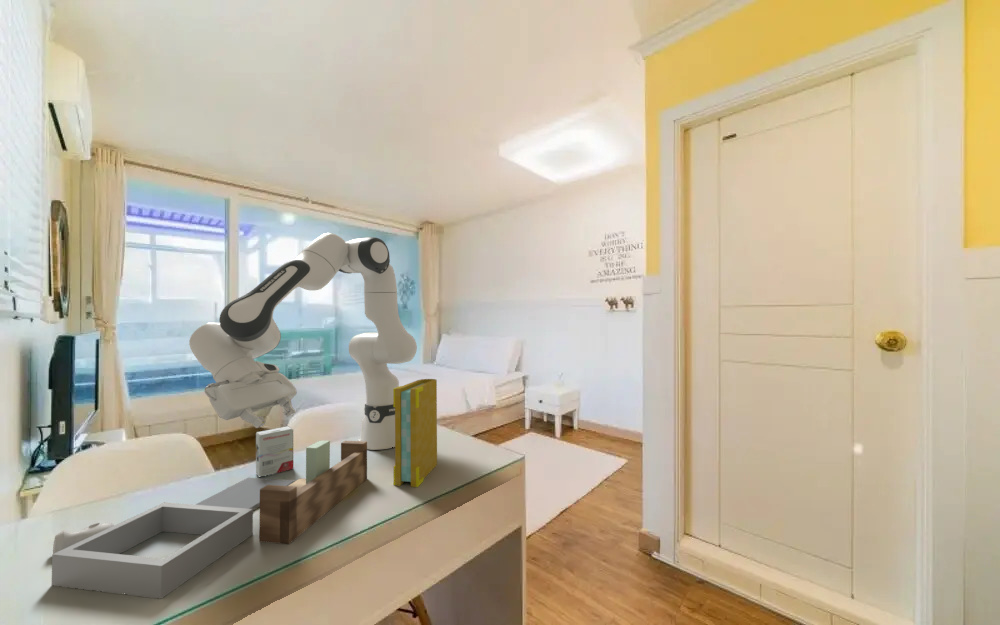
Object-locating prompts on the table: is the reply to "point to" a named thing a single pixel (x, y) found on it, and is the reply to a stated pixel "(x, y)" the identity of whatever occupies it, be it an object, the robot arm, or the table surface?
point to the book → (415, 431)
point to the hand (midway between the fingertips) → (277, 419)
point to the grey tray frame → (112, 572)
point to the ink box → (274, 451)
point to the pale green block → (317, 459)
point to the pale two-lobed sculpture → (77, 536)
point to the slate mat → (243, 493)
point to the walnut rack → (310, 496)
